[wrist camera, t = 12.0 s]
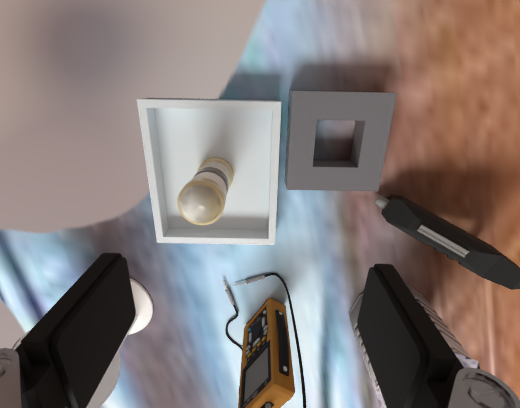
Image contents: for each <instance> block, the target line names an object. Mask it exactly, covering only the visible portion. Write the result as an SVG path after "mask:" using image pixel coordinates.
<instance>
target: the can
mask: <svg viewBox="0 0 520 408" xmlns="http://www.w3.org/2000/svg"><path fill="white" fill-rule="evenodd" d="M406 286H407V287H408V288H409V290H410V291H411V293H412V294H413V296H414V297H415V299H416V300H417V302H419V303H420V304H421V305H422V307H423V308H424V310H425V311H426V313H427V314H428V315H429V317H430V318H431V320H432V321H433V323H434V324H435V326H436V327H437V329H438V330H439V332H440V333H441V334H442V336H443V337H444V339H445V340H446V342H447V343H448V345H449V346H450V348H451V349H452V350H453V352H454V353H455V355H456V356H457V358H458V359H459V361H460V362H461V364H462V365H463V367H464V368H476V369H480V367H479V361H476V360H474V359H472V358H471V357H470V356H469V355H468V353H467V352H466V351H465V349H464V348H463V347H462V345H461V344H460V343H459V342H458V340H457V339H456V338H455V336H454V335H453V334H452V332H451V331H450V330H449V329H448V327H447V326H446V325H445V323H444V322H443V321H442V319H441V318H440V317H439V316H438V314H437V313H436V312H435V310H434V309H433V308H432V306H431V305H430V304H429V303H428V301H427V300H426V299H425V297H424V296H423V295H421V294H420V293H419V292H417V291H416V290H415V289H413V288H412V287H411V286H409V285H408V284H406ZM363 293H364V292H363ZM363 293H361V294H360V295H359V296H358V298H357V299H356V301H355V303H354V304H353V306H352V308H351V309H350V311H349V316H350V321H351V325H352V329H353V332H354V335H355V337H356V340H357V343H358V345H359V348H360V351H361V353H362V356H363V359H364V362H365V364H366V367H367V370H368V372H369V375H370V378H371V380H372V383H373V386H374V388H375V392H376V395H377V397H378V400H379V403H380V406H381V408H387V407H386V404H385V401H384V399H383V396H382V393H381V390H380V388H379V385H378V382H377V379H376V377H375V374H374V371H373V369H372V366H371V363H370V360H369V358H368V355H367V352H366V349H365V347H364V344H363V341H362V339H361V336H360V333H359V330H358V326H357V319H358V315H359V311H360V306H361V302H362V298H363Z"/></svg>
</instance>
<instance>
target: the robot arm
mask: <svg viewBox="0 0 520 408" xmlns="http://www.w3.org/2000/svg"><path fill="white" fill-rule="evenodd" d="M135 315H136V309H135V304H134V298H133V293H132V288H131V282H130V277H129V272H128V266H127V261H126V258H124V257H122V255H121V254H119V253H103V254H102V255H101V256H100V257H99V258H98V259H97V260H96V261H95V262H94V263H93V264H92V265H91V266H90V267H89V268H88V269H87V271H86V272H85V273H84V274H83V275H82V276H81V277H80V278H79V279H78V280H77V281H76V282H75V283H74V284H73V286H72V287H71V288H70V289H69V290H68V291H67V292H66V293H65V294H64V295H63V296H62V297H61V298H60V299H59V301H58V302H57V303H56V304H55V305H54V306H53V307H52V308H51V309H50V310H49V311H48V312H47V313H46V314H45V316H44V317H43V318H42V319H41V320H40V321H39V322H38V323H37V324H36V325H35V326H34V327H33V328H32V329H31V331H30V332H29V333H28V334H27V335H26V336H25V337H24V338H23V339H22V340H21V344H20V345H19V346H18V347H17V348H16V349H15V350H13V349H8V348H2V349H0V408H86V407H87V406H88V404H89V402H90V400H91V398H92V396H93V395H94V393H95V391H96V389H97V387H98V385H99V384H100V382H101V380H102V378H103V376H104V374H105V373H106V371H107V369H108V367H109V365H110V363H111V362H112V360H113V358H114V356H115V354H116V352H117V351H118V349H119V347H120V345H121V343H122V341H123V340H124V338H125V336H126V334H127V332H128V330H129V329H130V327H131V325H132V323H133V321H134V319H135ZM357 326H358V330H359V333H360V336H361V339H362V341H363V344H364V347H365V349H366V352H367V355H368V358H369V360H370V363H371V366H372V369H373V371H374V374H375V377H376V379H377V382H378V385H379V388H380V390H381V393H382V396H383V399H384V401H385V404H386V407H387V408H520V400H519V399H518V397H517V395H516V394H515V393H514V392H513V391H512V390H511V388H510V387H508V386H507V385H506V384H505V383H504V382H503V381H501V380H500V379H498V378H497V377H495V376H494V375H492V374H490V373H488V372H486V371H483V370H481V369H476V368H464V367H463V365H462V364H461V362H460V361H459V359H458V358H457V356H456V355H455V353H454V352H453V350H452V349H451V348H450V346H449V345H448V343H447V342H446V340H445V339H444V337H443V336H442V334H441V333H440V332H439V330H438V329H437V327H436V326H435V324H434V323H433V321H432V320H431V318H430V317H429V315H428V314H427V313H426V311H425V310H424V308H423V307H422V305H421V304H420V303H419V302H417V300H416V299H415V297H414V296H413V294H412V293H411V291H410V290H409V288H408V287H407V286H406V284H405V283H404V281H403V280H402V278H401V277H400V275H399V274H398V272H397V271H396V269H395V268H394V266H393V265H391V264H375V265H374V267H371V268H370V269H369V272H368V276H367V281H366V285H365V289H364V293H363V298H362V302H361V306H360V311H359V315H358V319H357Z"/></svg>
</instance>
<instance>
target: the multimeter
mask: <svg viewBox="0 0 520 408" xmlns="http://www.w3.org/2000/svg"><path fill="white" fill-rule="evenodd" d="M270 275H276V276H277V277H279V278H280V280H281V281H282V282H283V284H284V286H285V288H286V291H287V295H288V299H289V304H290V309H291V315H292V320H293V326H294V332H295V338H296V344H297V351H298V357H299V365H300V373H301V382H302V394H303V408H306V396H305V385H304V376H303V367H302V360H301V354H300V347H299V341H298V336H297V330H296V325H295V319H294V314H293V309H292V304H291V299H290V295H289V292H288V288H287V286H286V283H285V282H284V280H283V279H282V278H281V277H280V276H279V275H278V274H275V273H270V274H266V275H261V276H257V277H254V278H251V279H248V280H247V279H246V281H245V282H242V283H239V284H236V285H234V286H237V285H240V284H243V283H247V284H248V283H250V282H253V281H257V280H260V279H263V278H265V277H266V276H270ZM223 282H224V285H225V287H226V290H225V291H226V292H227V294H228V297H229V299H230V301H231V303H232V305H233V306H234V308H235V311H236V316H235V317H234V318H232V319H231V320H230V321H229V322H228V323H227V325H226V335H227V337H228V338H229V339H230V340H231V341H232V342H233V343H234V344H236V345H237V346H239V347H240V348H241V349H242V363H241V376H240V387H239V403H238V408H280V407H281V406H283V405H284V404H285V403H286V402H287V401H289V400H290V399H291V397H292V396H293V395H294V393H295V387H294V377H293V368H292V359H291V349H290V340H289V332H288V323H287V315H286V306H285V305H283V304H281V303H279V302H278V301H276V300H274V299H272V298H269V299H268V300H267V301H266V303H265V304H264V305H263V306H262V307H261V309H260V310H259V311H258V312H257V313H256V315H255V316H254V317H253V318H252V319H251V321H250V322H248V323H247V325H246V326H245V328H244V339H243V348H242V347H241V346H240V345H239V344H237V343H236V342H235V341H233V340H232V339H231V338H230V337H229V335H228V333H227V327H228V324H229V323H230V322H231V321H233V320H234V319H235V318H237V316H238V311H237V308H236V306H235V303H234V300H233V297H232V295H231V293H230V289H229V288H227V286H226V283H225V281H224V280H223Z"/></svg>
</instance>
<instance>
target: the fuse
mask: <svg viewBox="0 0 520 408" xmlns="http://www.w3.org/2000/svg"><path fill="white" fill-rule="evenodd" d="M233 177H234V172H233V169H232V166H231V165H230V164H229V162H227V161H226V160H225V159H223V158H220V157H211V158H208V159H206V160H205V161H204V162H203V163H202V164H201V165H200V167H199V168H198V171H197V173H196V174H195V176H194V177H193V178H192V180H191V181H189V182H188V183H187V184H186V185H185V186H184V187H183V189H182V190H181V191H180V193H179V195H178V199H177V205H178V209H179V211H180V213H181V215H182V216H183V217H184V218H185V219H186V220H188V221H189V222H191V223H193V224H197V225H209V224H212V223H214V222H215V221H217V220H218V219H219V218H220V217H221V215H222V213H223V210H224V207H225V203H226V195H227V192H228V189H229V187H230V186H231V184H232V181H233Z"/></svg>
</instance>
